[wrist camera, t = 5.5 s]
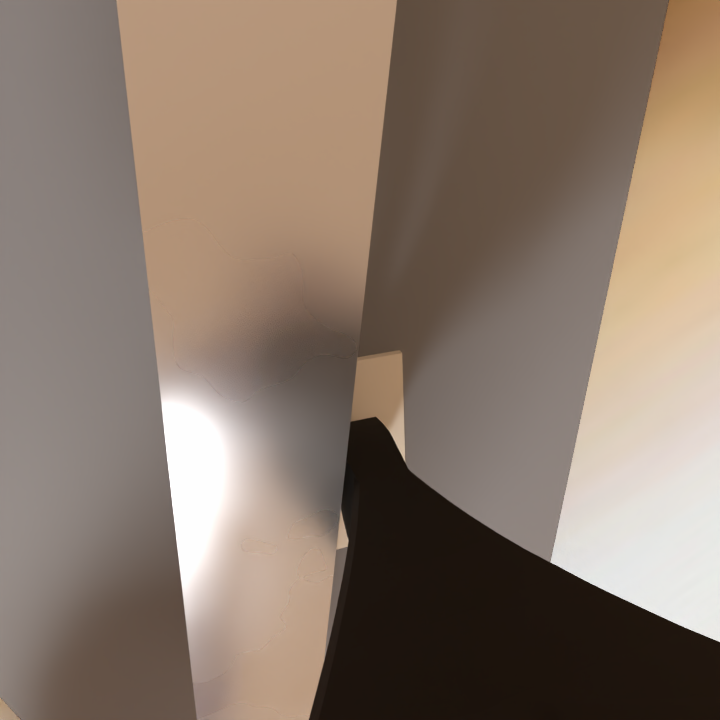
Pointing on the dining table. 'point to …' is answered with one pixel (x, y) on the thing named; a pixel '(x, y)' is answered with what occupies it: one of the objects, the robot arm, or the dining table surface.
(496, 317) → the label board
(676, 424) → the dining table surface
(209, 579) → the swing bar
